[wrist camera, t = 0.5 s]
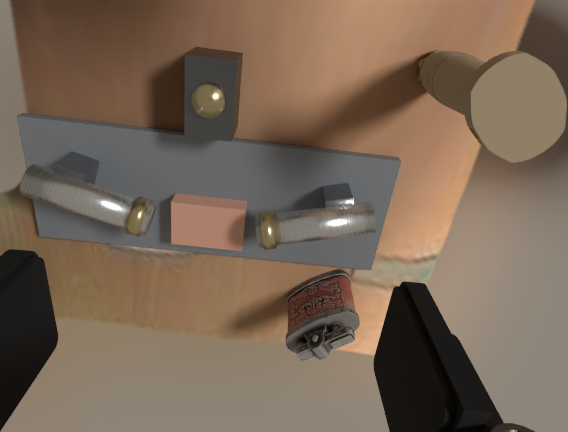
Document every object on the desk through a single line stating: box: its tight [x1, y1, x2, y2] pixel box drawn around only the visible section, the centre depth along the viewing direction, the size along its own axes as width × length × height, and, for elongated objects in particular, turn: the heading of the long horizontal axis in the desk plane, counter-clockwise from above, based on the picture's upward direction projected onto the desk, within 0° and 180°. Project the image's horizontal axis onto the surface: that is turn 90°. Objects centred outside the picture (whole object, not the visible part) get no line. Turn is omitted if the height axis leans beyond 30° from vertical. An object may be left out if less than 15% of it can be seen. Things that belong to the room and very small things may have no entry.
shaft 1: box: [20, 151, 156, 237], centre depth 38 cm, size 11×4×7 cm, turn 68°
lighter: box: [286, 269, 359, 362], centre depth 44 cm, size 8×3×10 cm, turn 121°
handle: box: [418, 50, 567, 163], centre depth 30 cm, size 5×6×15 cm
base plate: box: [17, 113, 401, 270], centre depth 41 cm, size 13×36×3 cm, turn 83°
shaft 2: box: [255, 183, 376, 250], centre depth 40 cm, size 11×4×7 cm, turn 98°
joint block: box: [184, 47, 243, 142], centre depth 35 cm, size 4×6×6 cm, turn 173°
